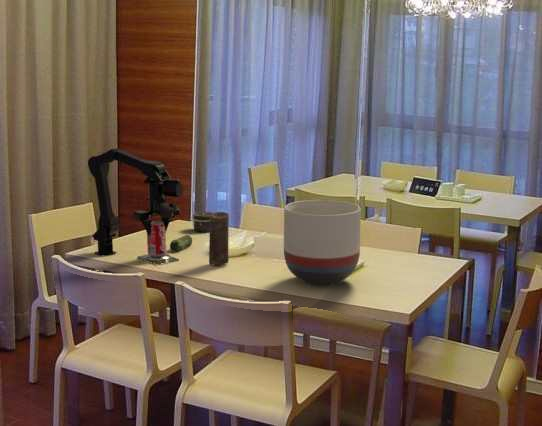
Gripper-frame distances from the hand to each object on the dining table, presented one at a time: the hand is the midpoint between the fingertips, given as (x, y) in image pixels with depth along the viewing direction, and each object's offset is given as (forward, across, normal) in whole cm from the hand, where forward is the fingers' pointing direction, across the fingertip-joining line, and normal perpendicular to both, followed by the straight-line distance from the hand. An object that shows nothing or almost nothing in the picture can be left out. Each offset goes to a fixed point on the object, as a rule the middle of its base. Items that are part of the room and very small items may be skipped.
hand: (157, 234), depth 320 cm
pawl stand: (+10, 0, 0) cm, 10 cm away
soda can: (+8, 0, 0) cm, 8 cm away
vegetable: (+10, +17, +7) cm, 21 cm away
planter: (+10, +27, -63) cm, 69 cm away
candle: (+10, +13, -22) cm, 28 cm away
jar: (+10, +43, +27) cm, 52 cm away
